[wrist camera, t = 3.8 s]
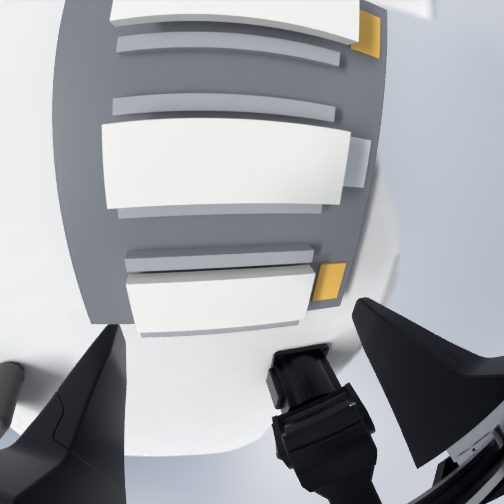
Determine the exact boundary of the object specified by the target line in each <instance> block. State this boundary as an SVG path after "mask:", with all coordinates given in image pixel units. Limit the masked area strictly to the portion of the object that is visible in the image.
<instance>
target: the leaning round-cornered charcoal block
mask: <svg viewBox="0 0 504 504" xmlns="http://www.w3.org/2000/svg"><path fill="white" fill-rule="evenodd" d="M23 380H24V371H23V369H22V368H21V367H20V366H19V365H17V364H14V363H3V364H0V439H1V437H2V436H3V435H4V434H5V432H6V431H7V430H8V429H9V427H10V425H11V422H12V418H13V414H14V410H15V406H16V403H17V399H18V396H19V392H20V389H21V386H22V383H23Z"/></svg>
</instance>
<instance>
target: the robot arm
mask: <svg viewBox="0 0 504 504" xmlns="http://www.w3.org/2000/svg"><path fill="white" fill-rule="evenodd" d="M352 319H353V322H354V325H355V327H356V330H357V333H358V335H359V338H360V341H361V343H362V346H363V348H364V351H365V353H366V355H367V357H368V359H369V361H370V363H371V365H372V367H373V369H374V371H375V373H376V376H377V378H378V380H379V382H380V384H381V386H382V388H383V390H384V393H385V395H386V397H387V399H388V401H389V404H390V406H391V408H392V410H393V412H394V415H395V417H396V419H397V422H398V424H399V426H400V429H401V431H402V433H403V436H404V438H405V440H406V443H407V445H408V447H409V450H410V453H411V455H412V458H413V460H414V463H415V465H416V467H417V469H418V468H420V467H421V466H423V465H424V464H426V463H428V462H429V461H430V460H432V459H434V458H435V457H437V456H438V455H439V454H441V453H442V452H444V451H445V450H447V452H448V453H449V455H450V456H448V457H447V458H446V459H445V460H443V461H442V462H440V463H439V464H438V467H437V471H436V474H435V479H434V482H433V486H432V488H430V489H429V490H428V491H426V492H425V493H423V494H422V495H420V496H419V497H418V498H416V499H414V500H412V501H411V502H409V503H408V504H486V503H488V502H490V501H492V500H494V499H497V498H498V497H500V496H502V495H504V356H500V357H494V358H485V357H481V356H478V355H476V354H474V353H472V352H470V351H467V350H465V349H463V348H461V347H459V346H457V345H455V344H453V343H451V342H449V341H447V340H445V339H443V338H441V337H439V336H438V335H435V334H434V333H432V332H430V331H429V330H427V329H425V328H423V327H421V326H419V325H418V324H416V323H414V322H412V321H410V320H408V319H407V318H405V317H403V316H401V315H399V314H397V313H395V312H394V311H392V310H390V309H388V308H386V307H384V306H383V305H381V304H379V303H377V302H375V301H373V300H371V299H370V298H367V297H364V298H359V299H358V300H357V301H356V304H355V307H354V310H353V313H352ZM328 350H329V346H328V345H327V344H323V345H318V346H313V347H307V348H301V349H295V350H289V351H283V352H277V353H275V354H274V355H273V359H272V364H271V368H270V369H269V370H268V375H267V380H266V382H267V385H268V388H269V391H270V394H271V397H272V400H273V404H274V407H275V408H276V409H277V410H278V409H281V412H282V414H281V415H279V416H277V415H276V416H274V417H272V420H273V424H272V427H273V431H274V436H275V441H276V455H277V458H278V459H280V460H283V461H284V463H285V464H286V466H287V467H288V468H289V469H294V471H295V473H296V475H297V477H298V479H299V481H300V483H301V486H302V487H303V488H305V489H306V490H308V491H309V492H316V493H317V494H319V495H321V496H323V497H324V498H326V499H328V500H329V502H330V504H382V503H381V501H380V498H379V496H378V494H377V492H376V490H375V488H374V485H373V483H372V476H373V471H374V466H375V465H376V460H377V448H376V446H375V444H374V441H373V439H372V437H371V434H372V433H374V432H375V427H374V424H373V422H372V420H371V418H370V416H369V414H368V412H367V410H366V408H365V407H364V405H363V403H362V402H361V400H360V399H359V397H358V395H357V394H356V392H355V391H354V389H353V387H352V386H351V384H350V383H347V384H346V385H345V386H343V387H341V385H340V383H339V381H338V379H337V377H336V375H335V373H334V371H333V370H332V368H331V366H330V364H329V362H328V360H327V358H326V356H327V353H328ZM126 385H127V380H126V343H125V339H124V336H123V333H122V330H121V327H120V325H119V324H108V325H107V326H106V327H105V328H104V330H103V331H102V332H101V333H100V335H99V336H98V337H97V338H96V340H95V341H94V342H93V343H92V345H91V346H90V347H89V349H88V350H87V351H86V352H85V354H84V355H83V356H82V358H81V359H80V360H79V361H78V363H77V364H76V365H75V367H74V368H73V369H72V371H71V372H70V373H69V375H68V376H67V377H66V379H65V380H64V382H63V383H62V384H61V386H60V387H59V388H58V391H56V392H55V394H54V395H53V397H52V398H51V399H50V401H49V402H48V403H47V405H46V406H45V408H44V409H43V410H42V411H41V412H40V414H39V415H38V416H37V417H36V419H35V420H34V421H33V422H32V423H31V424H30V426H29V427H28V428H27V429H26V430H25V431H24V433H23V434H22V435H21V436H20V437H19V439H18V440H17V441H16V442H15V443H14V444H12V445H11V446H9V447H7V448H5V449H1V450H0V504H126V492H125V475H124V422H125V401H126ZM349 405H351V406H349Z"/></svg>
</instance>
